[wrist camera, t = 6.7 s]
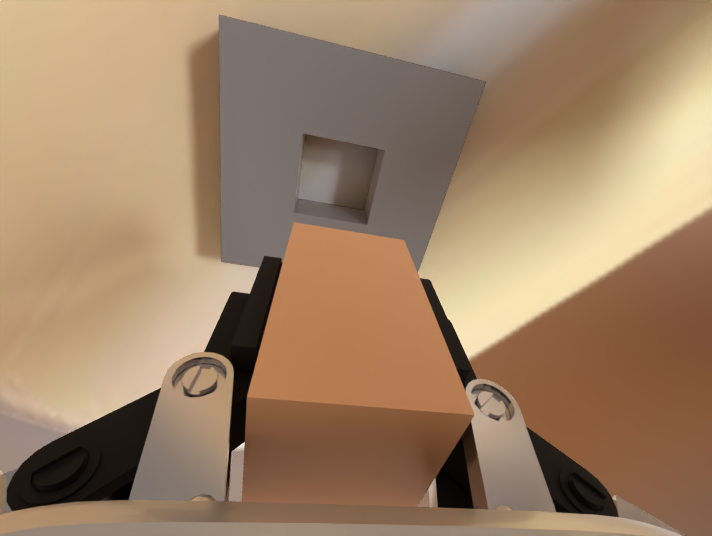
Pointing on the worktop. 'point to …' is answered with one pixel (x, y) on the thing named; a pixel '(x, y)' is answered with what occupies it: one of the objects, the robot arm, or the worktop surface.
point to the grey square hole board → (331, 137)
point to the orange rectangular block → (350, 379)
